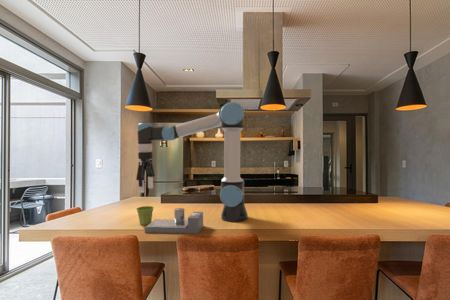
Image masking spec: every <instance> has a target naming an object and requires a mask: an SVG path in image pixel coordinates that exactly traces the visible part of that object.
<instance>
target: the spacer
mask: <svg viewBox="0 0 450 300" xmlns="http://www.w3.org/2000/svg"><path fill="white" fill-rule="evenodd" d="M174 220H175V224H183V223H185V220H186V219H185V208H183V207H177V208H174Z"/></svg>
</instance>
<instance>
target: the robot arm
mask: <svg viewBox="0 0 450 300" xmlns="http://www.w3.org/2000/svg"><path fill="white" fill-rule="evenodd" d="M244 119H245V111H244V109H243V107H242V106H241V104H239V103H237V102H235V101H229V102H227V103H225V104H224V105H222V107H221V110H219V111H218V112H217V113H214V114H210V115H207V116H204V117H200V118H196V119H194V120H190V121H186V122H183V123H179V124H176V125H172V126H168V125H167V126H165V125H164V126H153V124H152V123H150V122H149V123H148V122H143V123H142V122H141V123H138V124H137V150H138V154H137V155H138V156H137V157H138V160H141V161H138V166H137V174H136V178H135V179H136V181H138V193H140V194H141V193H142V194H144V193H145V180H144V178H145V173H147V175H148V176H147V188H148V189H154V177H155V171H154V166H153V152H152V151H153V142H154V141H163V142H164V141H166V142H168V141H174V140H176V139H180V138H182V137H186V136H190V135H194V134H199V133H201V132H204V131H209V130H212V129H215V128H219V127H221V130H222V131H223V132H224V133H223V135H224V137H223V139H224V140H223V177H222V179H221V181H220V191H219V198H220V201H221V203H222V204H223V208H222V211H221V215H220V217H221V220H222V221H225V222H234V223H235V222H243V221H246V220H247V219H248V216H249V215H248V211H247V208H246V205H245V180H244V179H243V178H242V177H241V134H242V133H241V132H242V131H243V130H244V127H245V126H244V122H245V121H244Z"/></svg>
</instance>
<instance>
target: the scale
mask: <svg viewBox="0 0 450 300" xmlns="http://www.w3.org/2000/svg"><path fill="white" fill-rule="evenodd" d="M187 220H188V226H187V228H162V227H147V226H145V228H144V232H145V233H151V234H152V233H153V234H155V233H156V234H194V235H195V234H199V233H200V232H201V230H202V229H203V227H204V211H193V212H192V213H191V214H190V215H189V216H188V217H187ZM202 226H203V227H202ZM201 228H202V229H201ZM200 229H201V230H200Z"/></svg>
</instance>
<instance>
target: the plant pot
mask: <svg viewBox="0 0 450 300" xmlns="http://www.w3.org/2000/svg"><path fill="white" fill-rule="evenodd" d="M154 209H155V207H154V206H153V205H152V206H151V205H144V206H139V207H137V208H136V209H135V210H136V211H137V215H138V219H139V220H138V221H139V224H140V225H142V226H147V225H149V224H150V223H151V222H153V221H152V219H153V211H154Z"/></svg>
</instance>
